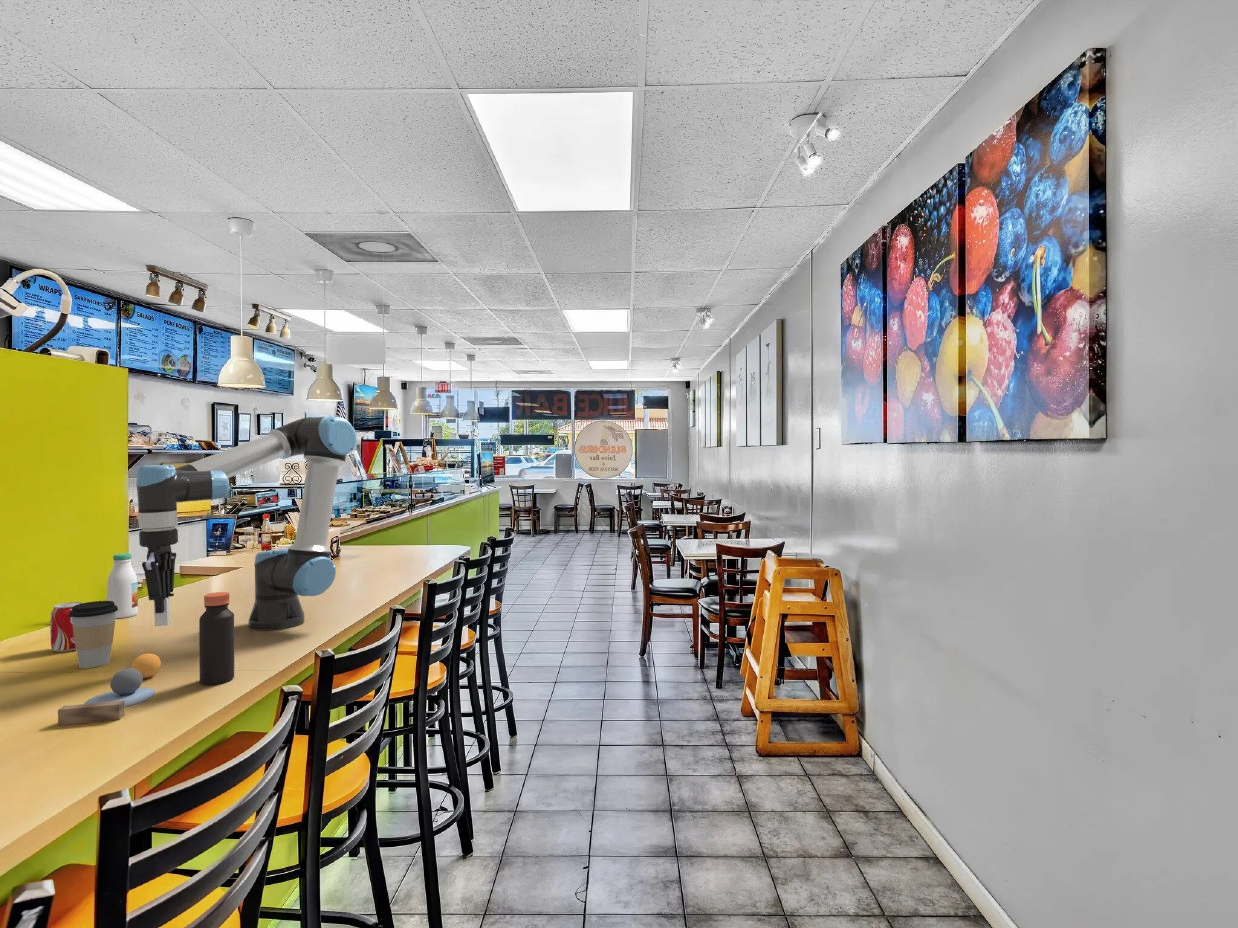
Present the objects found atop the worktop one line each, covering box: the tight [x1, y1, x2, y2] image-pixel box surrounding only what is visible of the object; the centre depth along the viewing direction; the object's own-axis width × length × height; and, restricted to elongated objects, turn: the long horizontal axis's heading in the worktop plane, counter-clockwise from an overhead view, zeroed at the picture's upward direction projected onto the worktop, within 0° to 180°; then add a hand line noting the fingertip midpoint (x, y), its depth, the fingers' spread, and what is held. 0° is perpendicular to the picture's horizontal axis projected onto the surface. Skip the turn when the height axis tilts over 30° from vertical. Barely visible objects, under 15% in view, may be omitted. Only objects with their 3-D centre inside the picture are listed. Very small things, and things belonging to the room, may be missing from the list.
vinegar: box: [198, 591, 235, 686], centre depth 142 cm, size 7×7×20 cm
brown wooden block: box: [57, 701, 126, 726], centre depth 121 cm, size 10×2×3 cm, turn 106°
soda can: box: [49, 601, 83, 653], centre depth 165 cm, size 7×7×12 cm
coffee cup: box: [68, 600, 118, 669], centre depth 153 cm, size 9×9×15 cm
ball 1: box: [110, 667, 144, 695], centre depth 134 cm, size 6×6×6 cm
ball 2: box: [130, 653, 162, 679], centre depth 144 cm, size 6×6×6 cm
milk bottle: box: [106, 552, 139, 620], centre depth 198 cm, size 8×8×20 cm
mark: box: [83, 686, 156, 708], centre depth 132 cm, size 12×12×1 cm
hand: (162, 624), depth 150 cm, fingers closed
